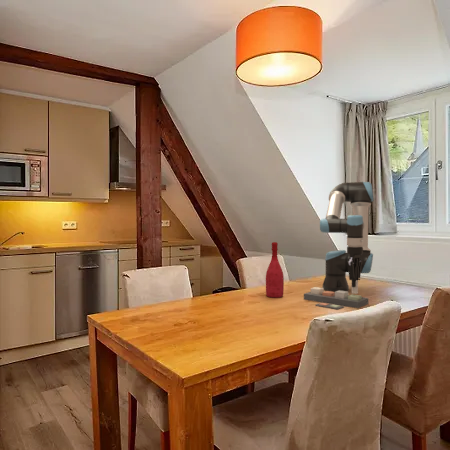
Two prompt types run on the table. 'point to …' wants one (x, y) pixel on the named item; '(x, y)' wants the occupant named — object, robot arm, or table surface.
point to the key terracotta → (328, 293)
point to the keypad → (336, 300)
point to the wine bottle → (274, 276)
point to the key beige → (341, 294)
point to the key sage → (354, 297)
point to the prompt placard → (329, 306)
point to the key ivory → (317, 290)
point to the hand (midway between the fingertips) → (354, 293)
